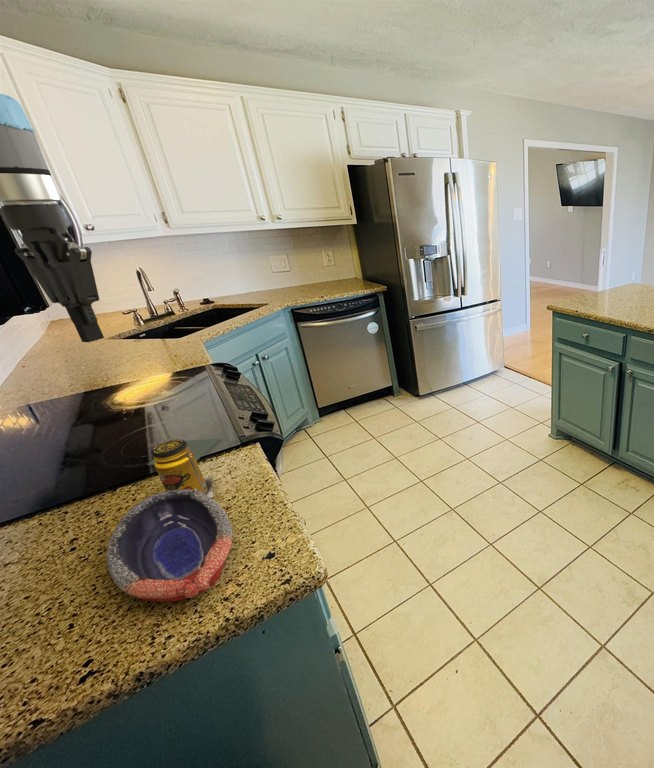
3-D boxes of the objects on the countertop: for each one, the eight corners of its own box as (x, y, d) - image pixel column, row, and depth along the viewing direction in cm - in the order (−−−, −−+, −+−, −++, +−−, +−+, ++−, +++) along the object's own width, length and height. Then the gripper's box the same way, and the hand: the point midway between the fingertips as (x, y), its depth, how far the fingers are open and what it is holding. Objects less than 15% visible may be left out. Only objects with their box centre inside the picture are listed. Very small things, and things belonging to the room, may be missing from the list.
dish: (213, 491, 83) (205, 471, 81) (257, 581, 62) (248, 557, 60) (111, 531, 73) (99, 509, 71) (125, 653, 53) (108, 627, 51)
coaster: (147, 466, 91) (147, 464, 91) (176, 442, 101) (175, 441, 100) (194, 462, 92) (194, 461, 92) (219, 439, 101) (218, 438, 101)
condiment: (167, 513, 77) (143, 460, 72) (169, 490, 83) (147, 440, 78) (213, 497, 81) (193, 446, 76) (212, 477, 87) (193, 428, 82)
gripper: (89, 203, 70) (142, 335, 79) (28, 204, 72) (86, 333, 81) (36, 203, 63) (101, 347, 73) (-30, 204, 65) (41, 345, 75)
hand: (93, 339), depth 77 cm, fingers closed
